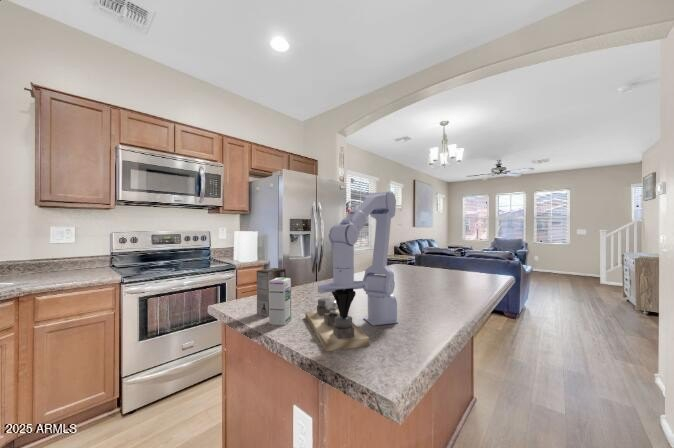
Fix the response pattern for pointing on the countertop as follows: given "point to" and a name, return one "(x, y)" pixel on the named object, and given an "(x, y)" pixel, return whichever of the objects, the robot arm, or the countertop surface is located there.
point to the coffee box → (266, 288)
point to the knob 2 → (343, 322)
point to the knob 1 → (322, 302)
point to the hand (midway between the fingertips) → (343, 316)
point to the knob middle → (331, 306)
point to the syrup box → (279, 301)
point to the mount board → (335, 331)
